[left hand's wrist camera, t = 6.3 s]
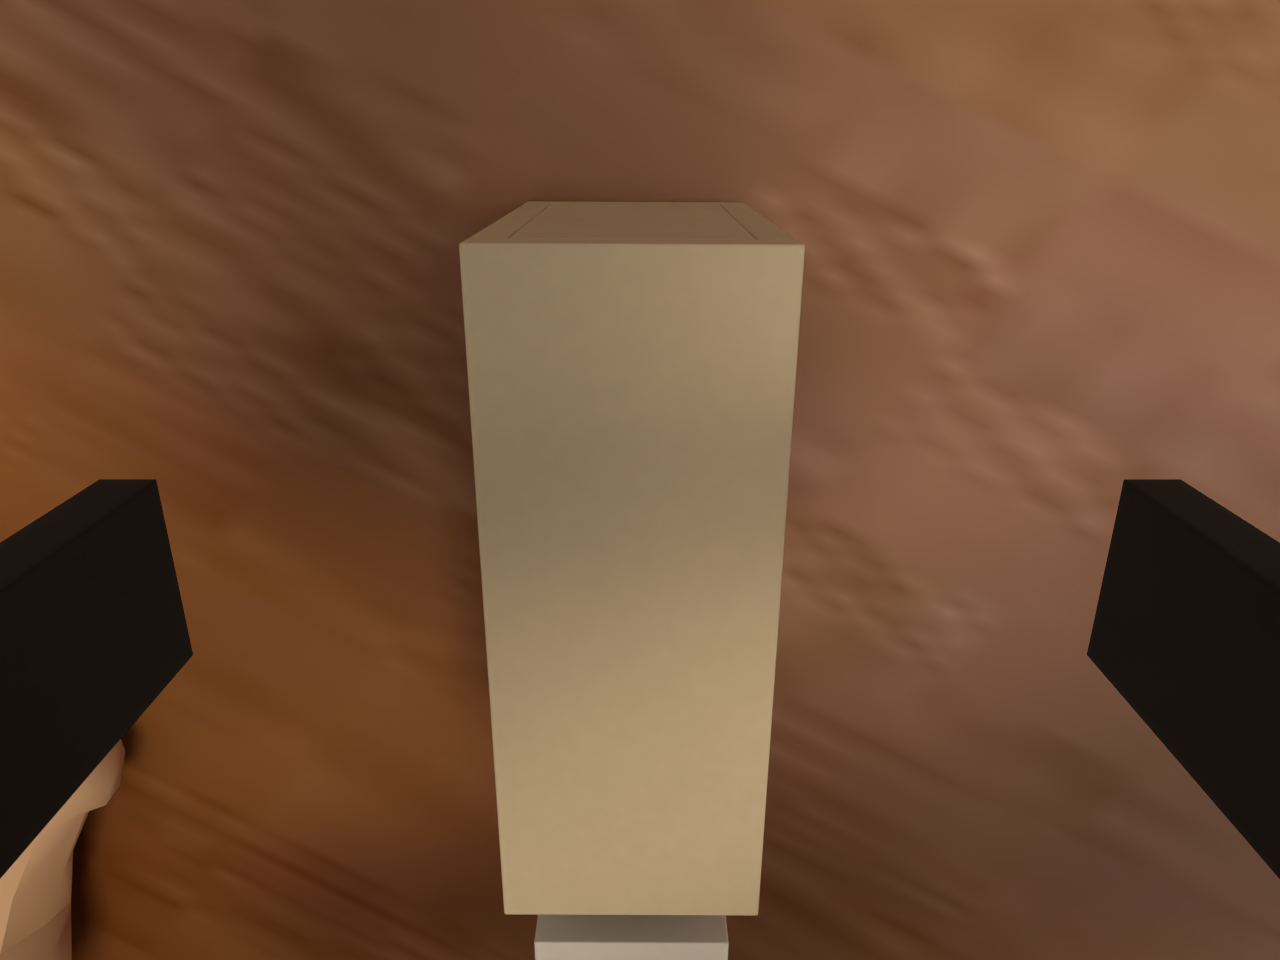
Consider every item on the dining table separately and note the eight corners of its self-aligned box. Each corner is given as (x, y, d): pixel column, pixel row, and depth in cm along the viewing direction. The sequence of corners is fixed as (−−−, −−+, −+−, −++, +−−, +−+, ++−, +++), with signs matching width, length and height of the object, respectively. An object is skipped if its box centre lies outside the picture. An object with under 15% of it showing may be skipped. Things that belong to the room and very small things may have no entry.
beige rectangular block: (722, 678, 33) (758, 916, 23) (545, 677, 33) (503, 915, 23) (744, 202, 27) (805, 244, 17) (526, 201, 27) (458, 242, 17)
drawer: (701, 884, 36) (719, 1114, 27) (565, 883, 36) (542, 1114, 27) (721, 348, 28) (756, 442, 19) (547, 347, 28) (507, 441, 19)
